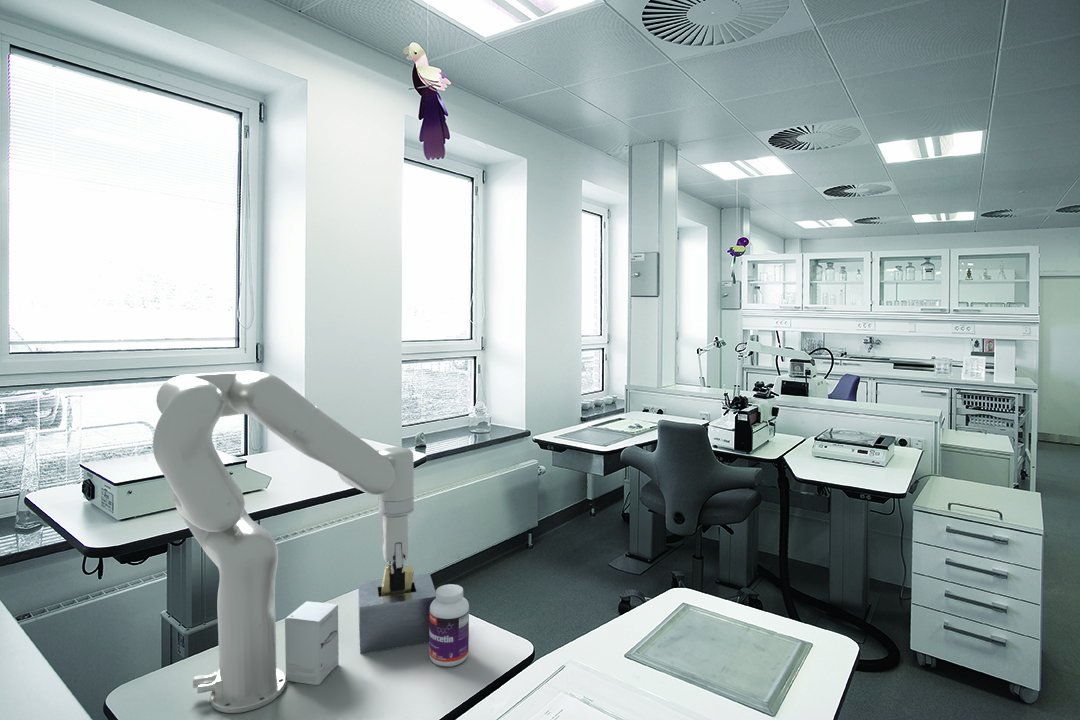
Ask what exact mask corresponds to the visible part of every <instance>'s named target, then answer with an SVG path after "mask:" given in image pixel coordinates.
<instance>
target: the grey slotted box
mask: <svg viewBox="0 0 1080 720" xmlns="http://www.w3.org/2000/svg"><path fill="white" fill-rule="evenodd" d="M382 581H383V579H376V580H368V581H367V580H366V581H361V582H358V584H357V585H358V589H357V591H358V635H359V636H358V637H359V638H358V639H359V652H360V653H359V654H366V653H373V652H381V651H385V650H386V651H387V650H390V649H391V650H392V649H396V648H397V649H398V648H404V647H410V646H416V645H417V646H418V645H422V644H429V627H430V605H431V603H432V601H433V600H435V599H436V588H435V586H434V583H433V580H432V577H431V574H430V573H425V574H424V573H423V574H415V575H413V580H412V586H411V592H410V593H405V594H397V595H390V596H382V597H381V587H382Z"/></svg>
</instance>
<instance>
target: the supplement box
mask: <svg viewBox="0 0 1080 720" xmlns="http://www.w3.org/2000/svg"><path fill="white" fill-rule="evenodd" d="M284 635H285V636H284V641H285V642H284V643H285V645H284V647H285V649H284V650H285V652H284V653H285V677H286V682H287V681H288V682H294V683H299V684H300V683H301V684H307V685H313V686H320V685H321V684H322V682H323V681H324V680H325V678H326V677H327V676H328V675H330V673H331V672H332V671H333V670H334V669H335V668H336V667H337V666H338V665H339V663H340V662H339V655H340V654H339V604H335V603H328V602H320V601H308V600H307V601H305V602H304V603H302V604H301V605H300V606H299V607H297V608H296V609H295V610H294V611H292V612H291V613H290V614H289V615H287V617H285V618H284Z"/></svg>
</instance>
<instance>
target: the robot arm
mask: <svg viewBox="0 0 1080 720" xmlns="http://www.w3.org/2000/svg"><path fill="white" fill-rule="evenodd" d="M155 401H156V405H157V409H158V410H159V411H160V414H161V415H160V417H159V418H158V421H157V424H156V426H155V429H154V433H153V440H152V452H153V456H154V459H155V462H156V463H157V466H158V468H159V469H160V471H161V473H162V474H163V476H164V478H165V479H166V481H167V483H168V485H169V487H170V488H171V490H172V491H173V502H174V506H175V509H176V510H177V512H178V514H179V515H180V517H181V519H182V520H183V521H184V523H185V525H186V526H187V527H188V529H189V531H190V532H191V534H192V536H193V537H194V538H195V539H196V541H197V542H198V543H199V545H200V547H201V548H202V550H203V551H204V553H205V554H206V556H207V557H208V558H210V560H211V561H212V562H213V564H215V566H216V567H217V568H218V572H219V582H218V590H217V600H216V601H217V602H216V603H217V605H216V609H217V632H218V639H217V640H218V659H219V660H218V668H219V669H218V671H213V673H211V674H200V675H195V676H194V677H193V681H192V688H193V689H197V692H196V693H197V694H202V693H207V692H210V696H209V697H210V699H209V700H210V705H211V707H212V708H214V710H216V711H218V712H222V713H225V714H226V713H227V714H239V713H247V712H249V711H253V710H256V709H257V710H258V709H259V708H262V707H264V706H266V705H267V704H270V703H271V702H272V701H274V700H275V699H276V698H278V697H279V696H280V695H281V694H282V693H283V691H284V690H285V688H286V683H287V680H286V673H284V672H283V671H282V670H281V669H279V668H277V634H276V633H277V630H276V629H277V628H276V626H277V625H276V575H277V568H278V561H279V554H278V553H279V550H278V547H277V543H276V541H275V539H274V537H273V536H272V535H271V533H270V532H269V531H268V530H267V529H266V528H265V527H263V526H261V524H258V522H256V521H254V520H253V519H252V518H251V516H250V515H249V514H248V512H247V511H246V508H245V499H244V494H243V491H242V490H241V488H240V486H239V485H238V484H237V483H236V481H235V480H234V478H233V477H232V475H231V474H230V472H229V470H228V469H227V467H226V466H225V464H224V463H223V462H222V460H221V456H220V455H219V453H218V452H217V450H216V448H215V446H214V443H213V432H214V429H215V426H216V424H217V423H218V421H219V419H220V418H223V417H229V416H230V417H231V416H239V415H247V416H249V417H250V418H252V419H253V420H255V421H256V422H258V423H259V424H260V425H262V427H265V428H266V429H268V430H269V431H270V432H271V433H273V434H274V435H276V436H277V437H279V438H280V439H282V441H284V442H285V443H287V444H288V445H289V446H291V447H292V448H294V449H295V450H297V451H298V452H300V453H301V454H303V455H305V456H306V457H308V458H310V459H313V460H314V461H318V462H320V463H322V464H324V465H325V466H327V467H329V468H331V470H332V469H333V470H334V471H336V472H337V474H338V477H339V479H341V481H342V482H343V483H345V484H346V485H348V486H350V487H353V488H355V489H357V490H360V491H361V492H363V493H365V494H367V495H370V496H378V497H377V501H378V502H377V504H378V509H377V510H378V511H377V512H378V514H379V515H380V516H382V555H383V560H384V562H386V563H388V564H389V565H388V566H391V573H390V591H391V592H394V591H401V590H405V571H404V566H405V561H406V560H407V559H408V558H409V527H410V526H409V515H410V514H412V513H413V512H415V509H414V507H415V506H414V505H415V502H414V501H415V500H414V499H415V498H414V497H415V496H414V492H415V491H414V490H415V489H414V487H415V483H414V479H415V477H414V476H415V475H414V474H415V473H414V471H415V470H414V469H415V468H414V467H415V466H414V461H415V460H414V452H413V451H412V450H411V449H410V448H407V447H404V446H402V447H401V446H395V447H387V448H383V449H380V450H376V449H375V448H374V447H372V446H371V445H370V444H368V443H367V442H365V441H364V440H363V439H362V438H360V437H358V436H357V435H355V434H354V433H352V432H351V431H350V430H348V429H347V428H345V427H344V426H343V425H342V424H340V423H339V422H338V421H336V420H335V419H333V418H331V417H330V416H329V415H328V414H326V413H325V412H323V410H321V409H320V408H318V407H317V406H316V405H314V403H312V402H311V401H309V400H308V399H306V398H305V397H304V396H303V395H302V394H300V393H299V392H298V391H297V390H295V389H294V388H293V387H291V385H289V384H288V383H286V382H285V381H284V380H282V379H281V378H279V377H278V376H277V375H274V374H272V373H268V372H262V371H256V370H245V371H244V370H243V371H234V372H233V371H232V372H217V373H216V372H215V373H198V374H197V373H196V374H184V375H183V374H182V375H177V376H174V377H172V378H169V379H168V380H166V381H165V382H164V383H163V384H162V385H161V386H160V387H159V390H158V391H157V395H156V399H155Z"/></svg>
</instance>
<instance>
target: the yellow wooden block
mask: <svg viewBox="0 0 1080 720" xmlns="http://www.w3.org/2000/svg"><path fill="white" fill-rule="evenodd" d="M404 571H405V590H401V591H394V592H391V591H390V573H391V566H388V565H387V564H386V565H384V571H383V577H382V580H383V581H382V587H381V597H382V596H390V595H397V594H405V593H410V592H411V586H412V580H413V576H414V567H413V566H411V565H410V566H409V565H404Z"/></svg>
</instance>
